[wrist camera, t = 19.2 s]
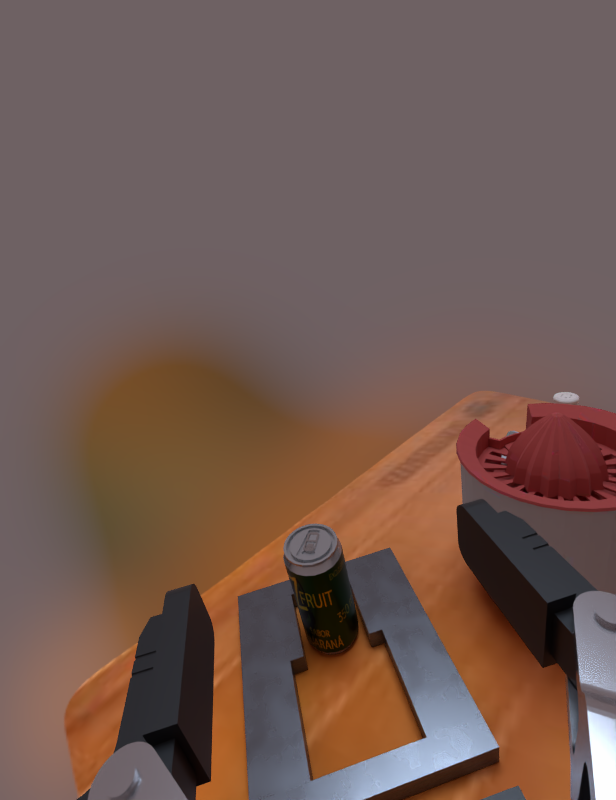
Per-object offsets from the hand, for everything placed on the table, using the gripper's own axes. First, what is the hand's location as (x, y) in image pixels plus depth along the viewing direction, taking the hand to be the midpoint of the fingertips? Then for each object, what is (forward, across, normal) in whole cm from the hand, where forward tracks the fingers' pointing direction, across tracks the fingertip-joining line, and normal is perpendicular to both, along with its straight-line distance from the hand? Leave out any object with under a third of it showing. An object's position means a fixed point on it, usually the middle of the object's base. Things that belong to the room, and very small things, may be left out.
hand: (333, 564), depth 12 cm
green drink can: (+19, 0, +29) cm, 35 cm away
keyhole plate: (+15, 0, +29) cm, 33 cm away
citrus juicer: (+17, -22, +29) cm, 40 cm away
